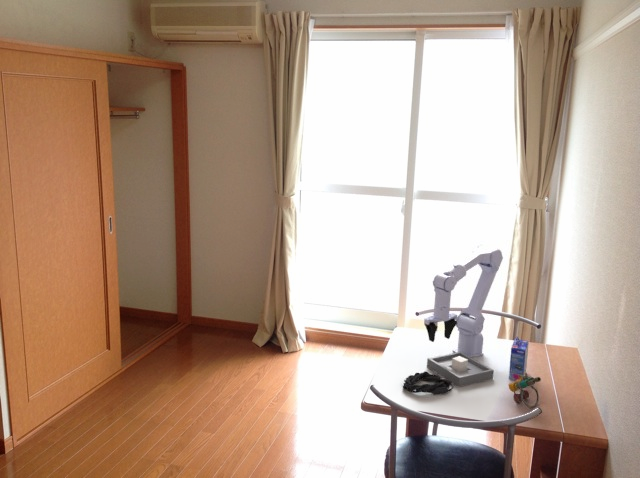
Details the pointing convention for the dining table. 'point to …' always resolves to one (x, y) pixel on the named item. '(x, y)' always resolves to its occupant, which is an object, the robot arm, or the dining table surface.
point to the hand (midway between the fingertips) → (439, 339)
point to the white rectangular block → (459, 364)
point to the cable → (427, 388)
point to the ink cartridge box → (518, 359)
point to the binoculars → (524, 393)
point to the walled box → (472, 375)
